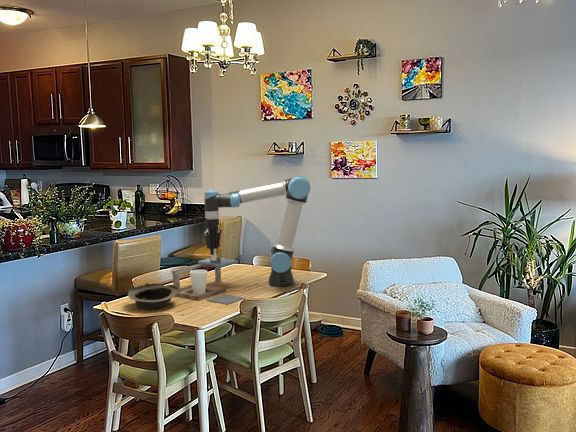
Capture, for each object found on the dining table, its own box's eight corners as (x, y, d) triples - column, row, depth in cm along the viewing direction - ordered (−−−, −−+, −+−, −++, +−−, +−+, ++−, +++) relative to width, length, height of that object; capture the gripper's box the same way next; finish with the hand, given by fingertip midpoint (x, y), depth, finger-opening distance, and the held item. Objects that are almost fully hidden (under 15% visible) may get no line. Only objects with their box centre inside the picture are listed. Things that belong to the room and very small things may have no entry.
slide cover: (238, 262, 315) (238, 255, 314) (222, 266, 303) (222, 259, 303) (214, 259, 325) (214, 252, 324) (198, 263, 313) (197, 255, 313)
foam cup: (209, 292, 301) (209, 269, 300) (205, 297, 292) (205, 273, 291) (193, 292, 302) (192, 269, 301) (188, 296, 293) (187, 273, 292)
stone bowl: (157, 296, 295) (157, 279, 293) (187, 307, 279) (188, 290, 278) (117, 305, 276) (117, 288, 274) (147, 318, 260) (148, 299, 259)
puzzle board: (245, 285, 318) (244, 262, 316) (198, 300, 285) (197, 275, 284) (216, 280, 330) (216, 258, 328) (168, 295, 298) (168, 270, 296)
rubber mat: (244, 298, 289) (244, 297, 289) (227, 304, 277) (227, 303, 277) (224, 294, 296) (224, 294, 296) (207, 300, 285) (206, 299, 285)
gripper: (214, 216, 310) (216, 257, 313) (199, 219, 299) (200, 261, 302) (225, 217, 306) (226, 258, 308) (209, 220, 295) (211, 262, 298)
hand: (213, 260), depth 305 cm, fingers closed
